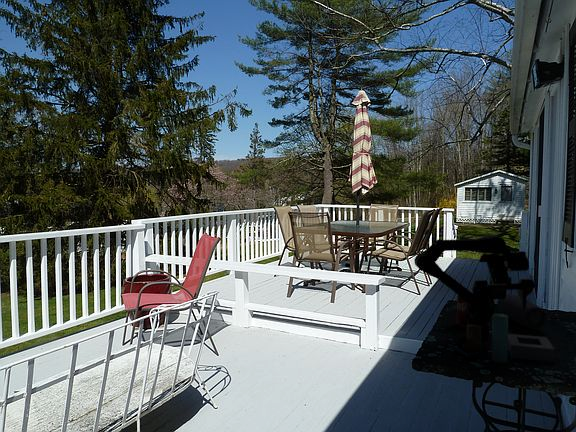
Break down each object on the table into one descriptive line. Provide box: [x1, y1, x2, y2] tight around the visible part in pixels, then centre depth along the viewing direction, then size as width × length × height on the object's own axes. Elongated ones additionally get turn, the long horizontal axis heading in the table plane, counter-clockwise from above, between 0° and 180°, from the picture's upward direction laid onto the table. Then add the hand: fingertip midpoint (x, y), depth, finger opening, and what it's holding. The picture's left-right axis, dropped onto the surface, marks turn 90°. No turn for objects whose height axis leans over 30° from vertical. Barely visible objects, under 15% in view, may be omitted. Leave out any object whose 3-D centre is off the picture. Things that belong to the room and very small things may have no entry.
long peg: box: [491, 313, 509, 364], centre depth 138 cm, size 4×4×14 cm
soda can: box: [456, 294, 471, 329], centre depth 174 cm, size 7×7×12 cm
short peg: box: [466, 324, 482, 353], centre depth 147 cm, size 4×4×8 cm
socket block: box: [508, 333, 556, 363], centre depth 144 cm, size 12×12×4 cm
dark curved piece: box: [497, 293, 548, 330], centre depth 176 cm, size 23×9×10 cm, turn 179°
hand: (509, 309), depth 146 cm, fingers open, 9 cm apart
